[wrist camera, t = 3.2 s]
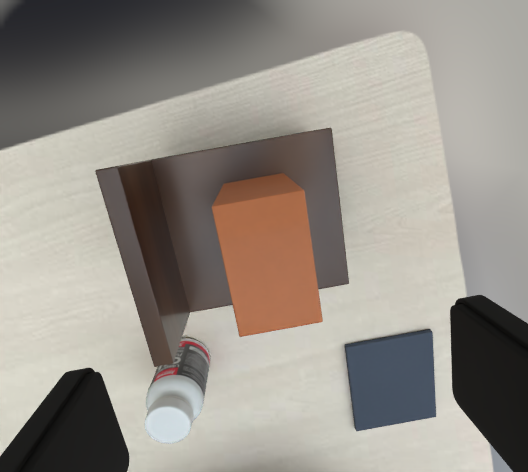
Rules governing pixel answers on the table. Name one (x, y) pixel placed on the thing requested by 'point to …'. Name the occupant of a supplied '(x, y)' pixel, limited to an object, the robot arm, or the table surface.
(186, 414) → the pill bottle
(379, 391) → the mat
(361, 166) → the table surface
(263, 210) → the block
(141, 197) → the brown corner piece
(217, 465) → the table surface
